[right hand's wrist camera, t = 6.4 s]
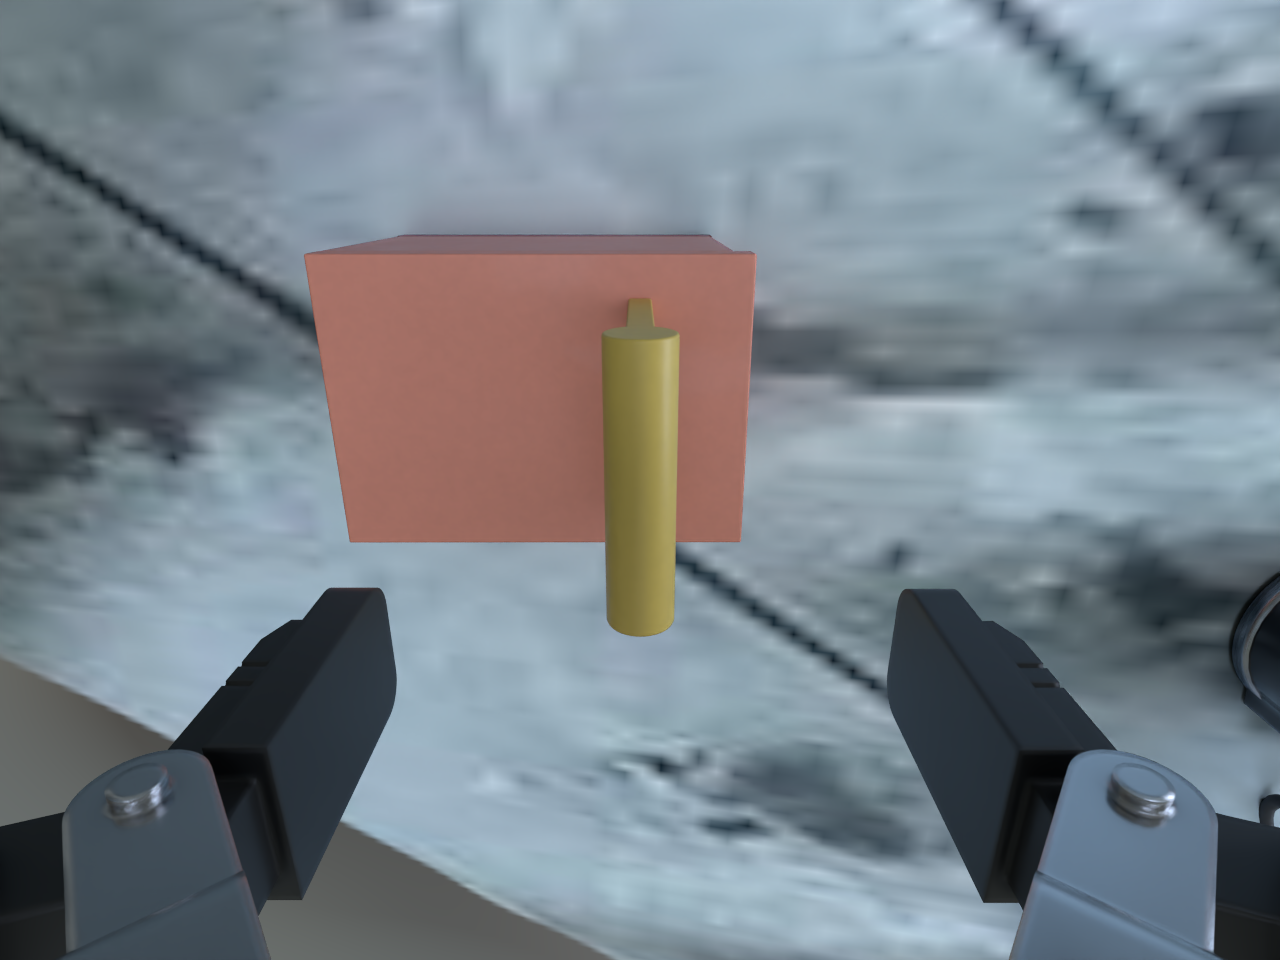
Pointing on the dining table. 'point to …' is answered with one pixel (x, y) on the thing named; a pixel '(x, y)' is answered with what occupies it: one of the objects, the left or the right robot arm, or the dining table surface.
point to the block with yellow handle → (542, 402)
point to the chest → (541, 243)
